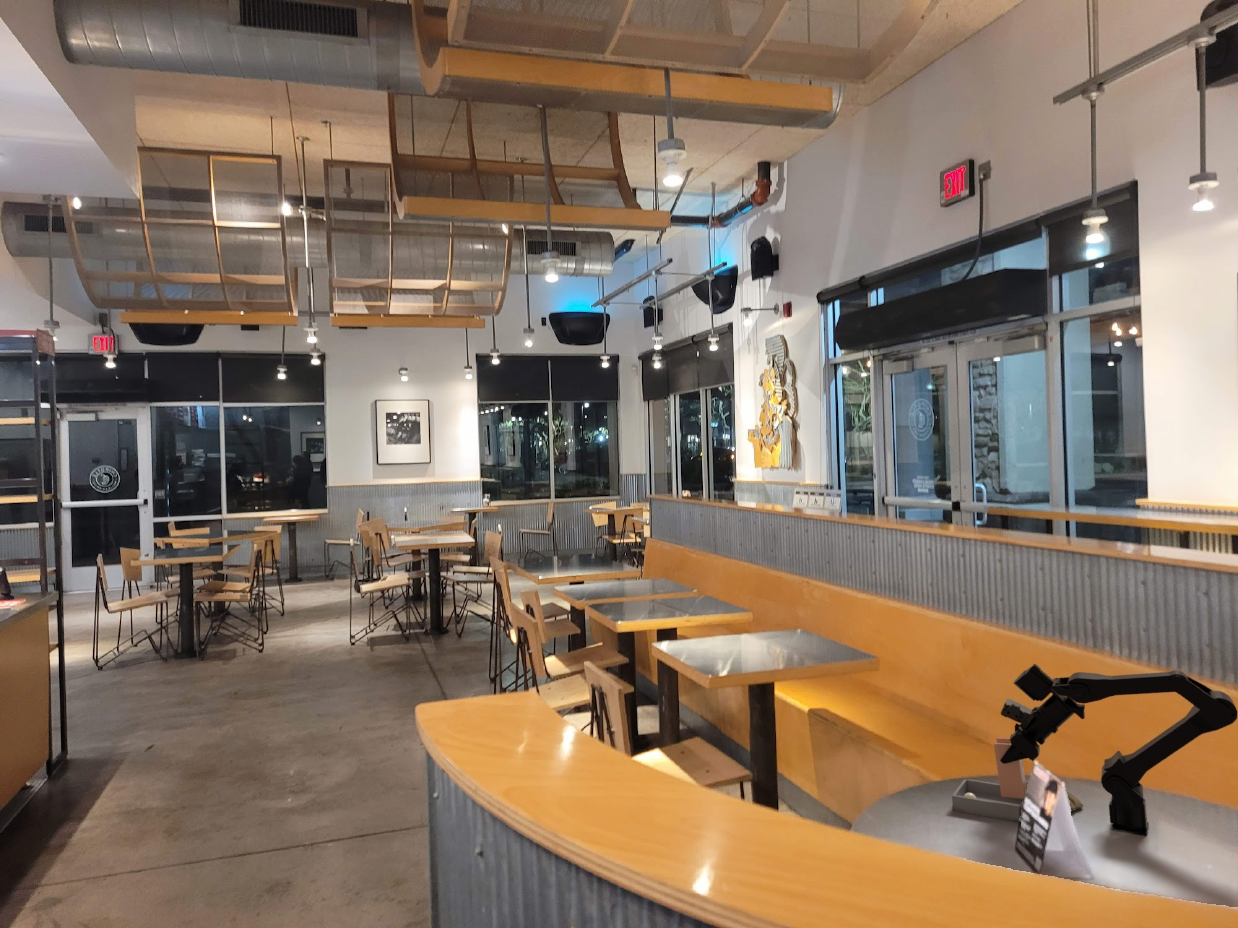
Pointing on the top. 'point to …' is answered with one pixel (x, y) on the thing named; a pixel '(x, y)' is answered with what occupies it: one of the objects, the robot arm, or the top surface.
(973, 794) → the ball
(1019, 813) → the tray
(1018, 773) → the brown rectangular block
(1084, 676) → the robot arm
